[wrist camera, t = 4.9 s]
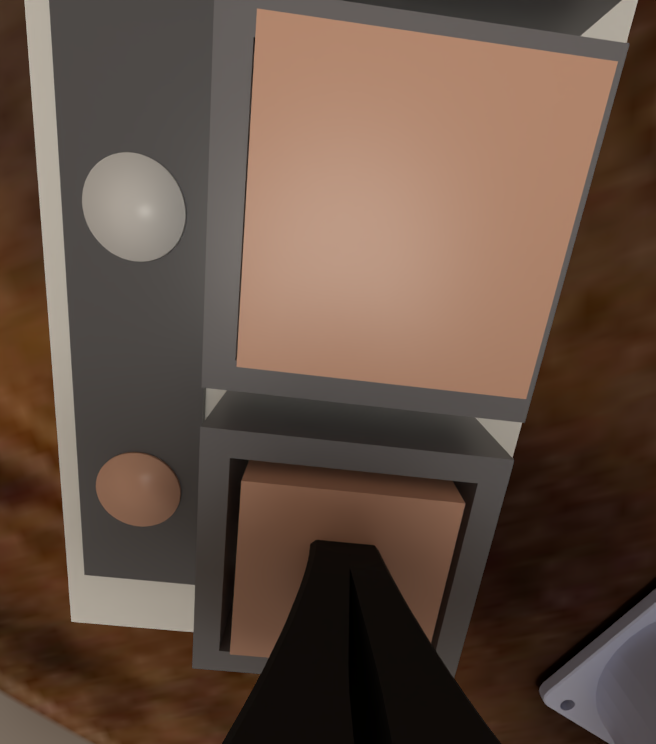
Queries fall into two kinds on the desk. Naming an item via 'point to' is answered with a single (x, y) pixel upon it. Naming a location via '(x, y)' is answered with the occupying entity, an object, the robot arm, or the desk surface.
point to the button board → (224, 307)
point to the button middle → (409, 202)
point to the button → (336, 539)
